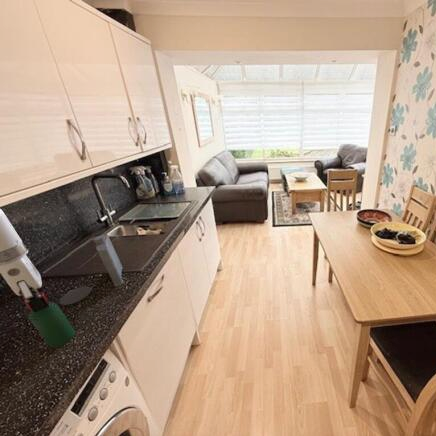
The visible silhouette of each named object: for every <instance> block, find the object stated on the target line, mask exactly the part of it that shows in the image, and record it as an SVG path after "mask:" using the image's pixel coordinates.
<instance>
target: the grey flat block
mask: <svg viewBox="0 0 436 436" xmlns="http://www.w3.org/2000/svg"><path fill="white" fill-rule="evenodd" d="M92 240H93V242H94V243H95V248H96V250H97V253H98V255H99V257H100V260H101V261H102V263H103V265H104V267H105V269H106V271H107V273H108V275H109V277H110V279H111V281H112V283H113V285H114V287H116V288H118V287H121V286H122V285H124V284H125V283H124V279H123V277H122V272H123V265H122V263H121V260H120V259H119V256H118V254H117V252H116V250H115V248H114V245H113V244H112V241H111V239H110V236H109V235H108V234H107V233H106V234H105V233H104V234H102V235H97V236H95V237H93V238H92Z"/></svg>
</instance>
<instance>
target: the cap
mask: <svg viewBox="0 0 436 436" xmlns="http://www.w3.org/2000/svg"><path fill="white" fill-rule="evenodd" d="M39 293H40V295H41V296H42V295H43V297H44V298H45V300H46V301H47V302H49V301H48V297H47V298H46V296H47V295H46V296H45V294H46V293H45V292H44V293H45V294H44V293H43V292H39ZM35 294H36V293H35ZM23 301H24V303H25V305H26V306H27V309H29V310H30V311H31V310H32V309H31V308H30V306H29V305H28V303H27V301H26V300H25V298H24V299H23Z"/></svg>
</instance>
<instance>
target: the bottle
mask: <svg viewBox="0 0 436 436" xmlns="http://www.w3.org/2000/svg"><path fill="white" fill-rule="evenodd" d="M47 303H48V304H49V307H47V308H45V309H42V310H40V311H38V312H33V310H30V312H29V314H28V320H29V321H30V322H31V324H32V325H33V326H34V328H35V329H36V330H37V331H38V333H39V334H40V335H41V337H42V338H43V339H44V341H45V342H46V344H47V345H48V346H49V348H51V349H52V348H53V349H57V348H59V347H60V348H61V347H62V346H64V345H66V344H68V343H69V342H70V341H72V340H73V339H74V337H75V335H76V333H77V332H76V330H75V329H74V327H73V326H72V324H71V323H70V321H69V320H68V318H67V317H66V315H65V314H64V312H63V311H62V309H61V307H60V306H59V305H58V303H56V302H54V301H53V302H52V301H48V302H47Z"/></svg>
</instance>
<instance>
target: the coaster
mask: <svg viewBox="0 0 436 436" xmlns="http://www.w3.org/2000/svg"><path fill="white" fill-rule="evenodd" d="M92 292H93V288H92V287H91V286H80V287H77V288H75V289H73V290H70V291H69V292H67V293H65V294H64V295H63V296H62V297H61V298H60V299H59V304H60V305H61V306H62V307H69V306H72V305H75V304H78V303H80V302H82V301H84V300H86V299H87V298H88V297H89V296H90V295H91V294H93V293H92Z"/></svg>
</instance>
